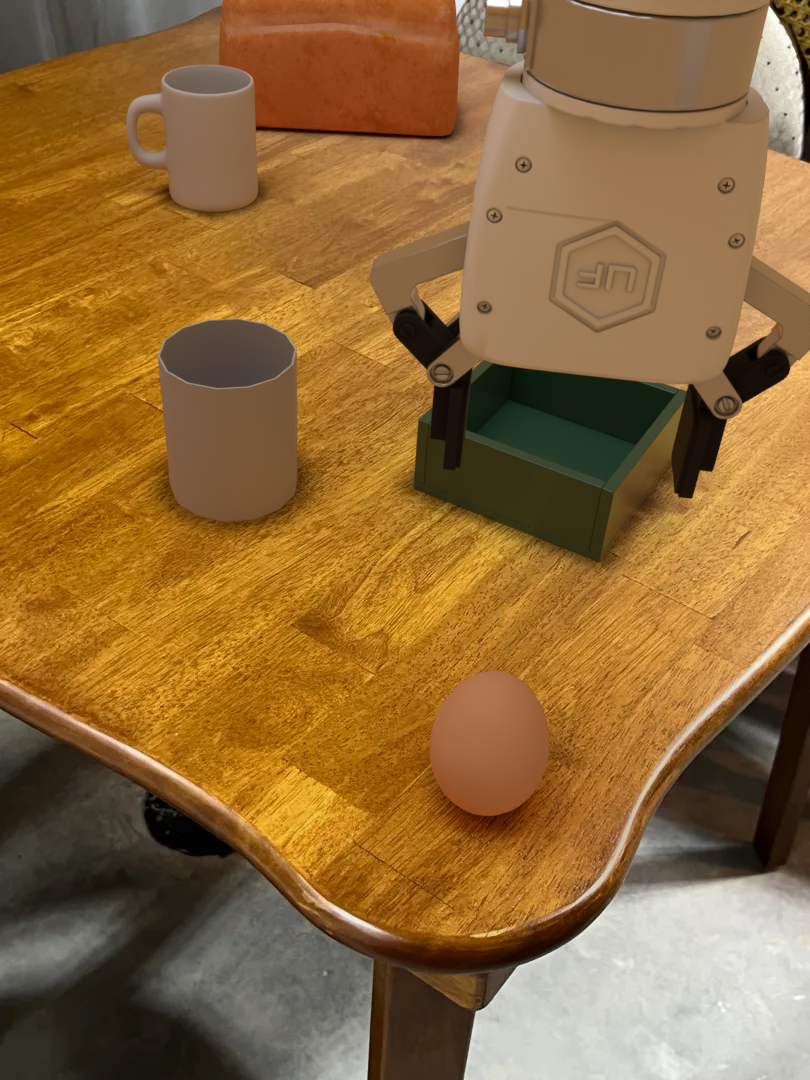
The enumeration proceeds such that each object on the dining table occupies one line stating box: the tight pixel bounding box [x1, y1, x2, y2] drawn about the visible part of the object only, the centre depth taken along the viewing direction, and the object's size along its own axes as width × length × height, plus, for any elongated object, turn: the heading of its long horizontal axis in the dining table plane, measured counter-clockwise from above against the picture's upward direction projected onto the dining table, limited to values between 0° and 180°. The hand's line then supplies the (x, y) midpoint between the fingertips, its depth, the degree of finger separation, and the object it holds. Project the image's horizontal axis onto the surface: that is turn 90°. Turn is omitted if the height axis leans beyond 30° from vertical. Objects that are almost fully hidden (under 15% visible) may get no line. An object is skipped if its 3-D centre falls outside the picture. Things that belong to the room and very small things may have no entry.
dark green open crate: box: [412, 359, 687, 563], centre depth 78 cm, size 14×14×6 cm
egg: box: [428, 669, 551, 817], centre depth 55 cm, size 6×6×8 cm
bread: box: [218, 0, 460, 137], centre depth 126 cm, size 14×26×16 cm, turn 90°
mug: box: [125, 64, 259, 213], centre depth 109 cm, size 12×8×11 cm
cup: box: [157, 317, 299, 523], centre depth 74 cm, size 8×8×10 cm
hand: (566, 465), depth 49 cm, fingers open, 9 cm apart
